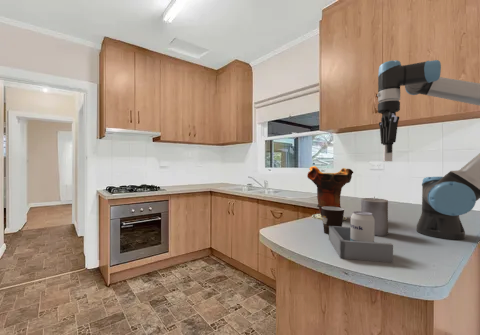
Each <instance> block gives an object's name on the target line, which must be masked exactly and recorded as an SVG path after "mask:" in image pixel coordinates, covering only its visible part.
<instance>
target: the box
mask: <svg viewBox="0 0 480 335" xmlns="http://www.w3.org/2000/svg"><path fill="white" fill-rule="evenodd" d="M350 230H351V226H342V227H340V226H329V234H328V241H329V242H330V244H331V245H332V247H333V248H334V250H335V252H336V253H337V255H338V257H339V258H340V259H343V260H344V259H345V260H347V259H348V260H358V261H359V260H360V261H369V262H370V261H371V262H384V263H394V244H393V243H389V242H376V241H374V242H362V241H350Z"/></svg>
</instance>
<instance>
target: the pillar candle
mask: <svg viewBox="0 0 480 335" xmlns="http://www.w3.org/2000/svg"><path fill="white" fill-rule="evenodd" d="M375 197H376V196H374V197H363V198H361V199H360V211H363V212H369V213H372V216H373V217H374V219H375V225H374V236H378V237H386V236H388V234H389V201H388V200H387V199H385V198H378V197H377V198H375Z"/></svg>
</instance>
